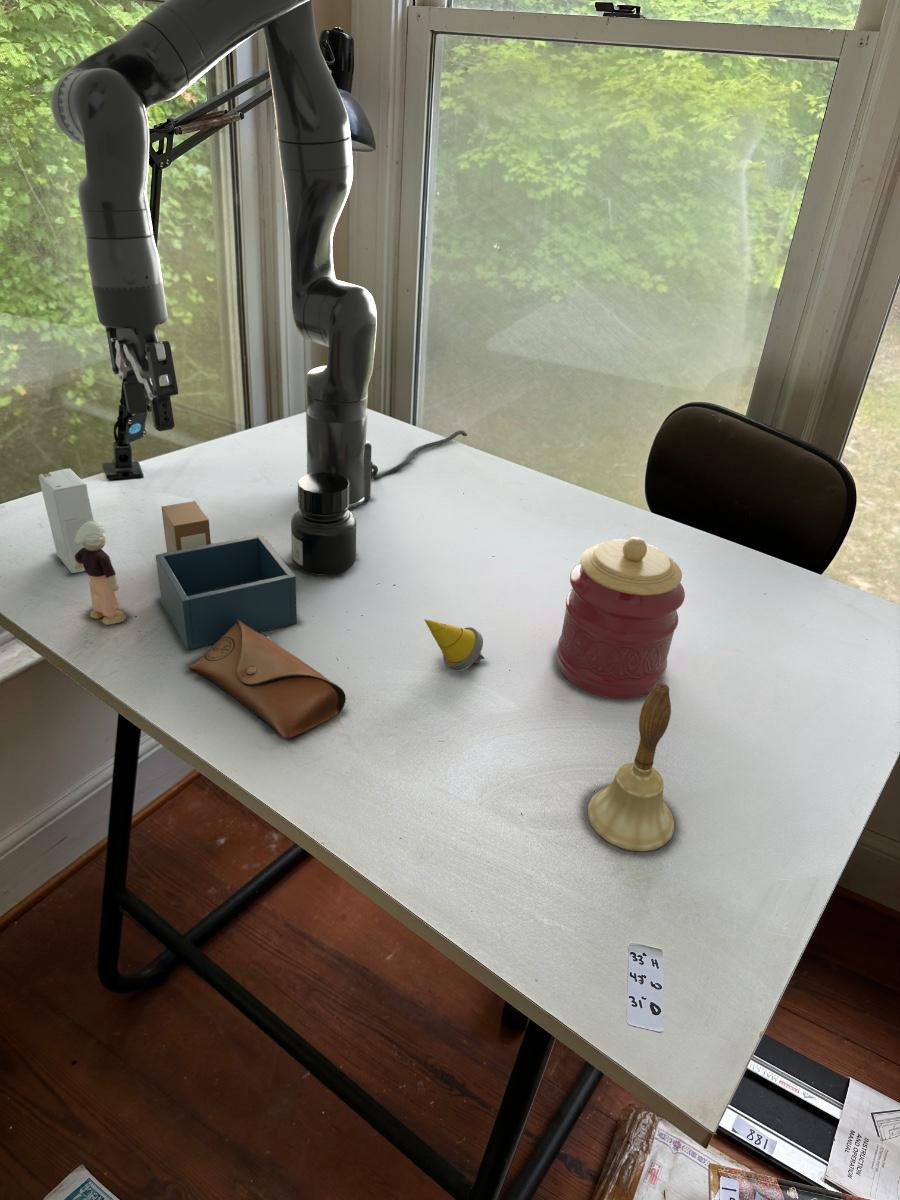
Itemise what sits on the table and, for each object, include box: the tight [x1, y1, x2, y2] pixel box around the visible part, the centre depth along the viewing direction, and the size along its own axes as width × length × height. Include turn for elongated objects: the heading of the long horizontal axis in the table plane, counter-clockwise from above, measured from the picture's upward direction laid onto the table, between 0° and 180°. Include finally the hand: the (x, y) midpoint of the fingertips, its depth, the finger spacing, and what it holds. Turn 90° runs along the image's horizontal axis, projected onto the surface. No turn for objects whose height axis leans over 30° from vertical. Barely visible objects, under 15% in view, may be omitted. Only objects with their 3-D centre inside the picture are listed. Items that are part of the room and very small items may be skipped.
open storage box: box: [155, 534, 298, 651], centre depth 105 cm, size 14×12×7 cm
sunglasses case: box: [188, 620, 347, 739], centre depth 94 cm, size 18×7×7 cm
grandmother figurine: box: [74, 520, 127, 626], centre depth 101 cm, size 8×4×13 cm, turn 65°
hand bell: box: [587, 682, 675, 852], centre depth 77 cm, size 8×8×16 cm
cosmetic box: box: [38, 467, 94, 574], centre depth 111 cm, size 6×4×12 cm
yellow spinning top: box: [424, 618, 486, 672], centre depth 99 cm, size 5×5×10 cm
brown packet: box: [161, 500, 212, 553], centre depth 113 cm, size 4×6×8 cm
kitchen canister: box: [556, 536, 686, 700], centre depth 98 cm, size 13×13×18 cm
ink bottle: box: [290, 472, 358, 576], centre depth 116 cm, size 10×9×12 cm
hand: (150, 420), depth 103 cm, fingers open, 8 cm apart
